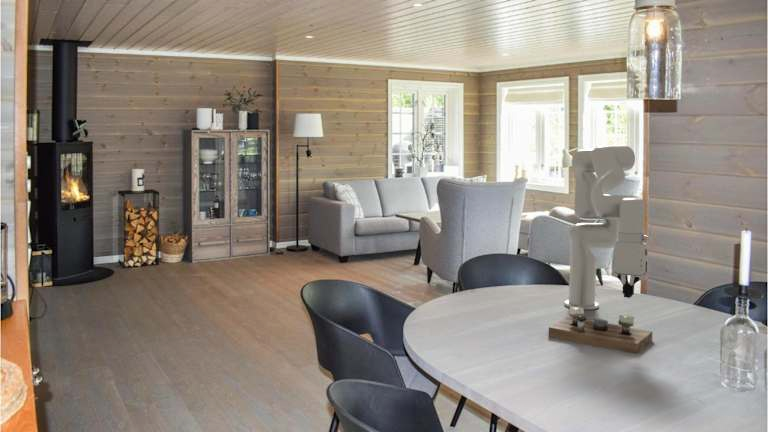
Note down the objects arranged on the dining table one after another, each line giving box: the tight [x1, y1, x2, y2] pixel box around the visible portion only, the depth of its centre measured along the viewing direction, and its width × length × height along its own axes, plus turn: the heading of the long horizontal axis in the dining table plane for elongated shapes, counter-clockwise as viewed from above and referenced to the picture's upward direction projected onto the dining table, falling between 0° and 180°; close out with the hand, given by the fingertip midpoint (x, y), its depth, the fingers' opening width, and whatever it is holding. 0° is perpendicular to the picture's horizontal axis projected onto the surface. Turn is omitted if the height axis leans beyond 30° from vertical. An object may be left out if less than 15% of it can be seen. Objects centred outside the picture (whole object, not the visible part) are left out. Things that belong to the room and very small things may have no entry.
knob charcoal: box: [592, 318, 609, 331], centre depth 223 cm, size 4×4×5 cm
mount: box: [548, 316, 654, 354], centre depth 224 cm, size 16×28×3 cm, turn 54°
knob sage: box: [618, 314, 635, 334], centre depth 218 cm, size 4×4×5 cm
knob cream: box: [568, 307, 585, 325], centre depth 228 cm, size 4×4×5 cm
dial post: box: [576, 315, 588, 333], centre depth 220 cm, size 3×3×5 cm
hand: (628, 296), depth 217 cm, fingers closed
